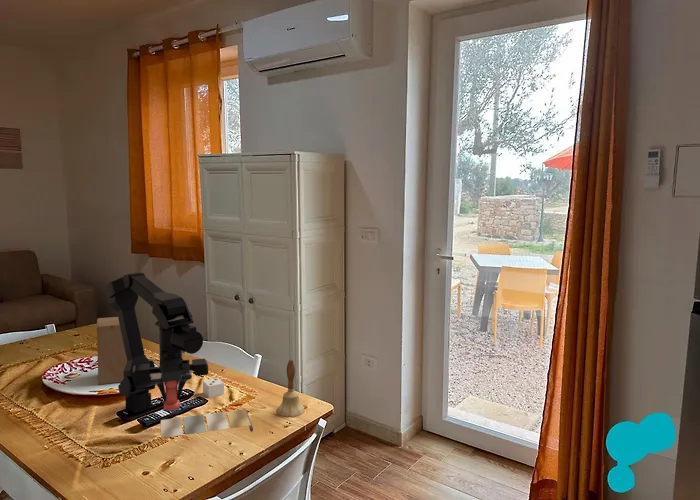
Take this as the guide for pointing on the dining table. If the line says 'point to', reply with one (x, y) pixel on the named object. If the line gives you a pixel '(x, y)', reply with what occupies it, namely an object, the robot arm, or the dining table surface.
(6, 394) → the dining table surface
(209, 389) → the die
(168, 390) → the pawn
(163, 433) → the board
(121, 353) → the wooden block
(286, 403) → the hand bell
